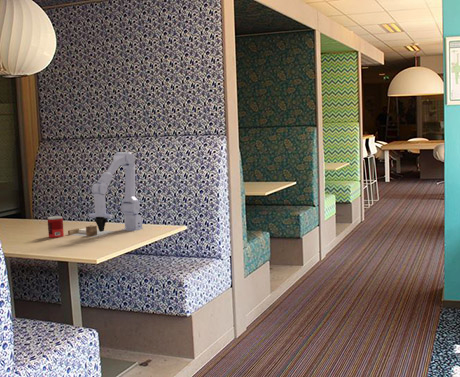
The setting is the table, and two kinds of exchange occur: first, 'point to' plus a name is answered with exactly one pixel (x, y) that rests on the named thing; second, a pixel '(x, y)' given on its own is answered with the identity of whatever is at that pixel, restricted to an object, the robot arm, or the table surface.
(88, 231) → the block
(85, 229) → the tile
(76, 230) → the rail
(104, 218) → the robot arm
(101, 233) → the mat
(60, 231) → the canned food
